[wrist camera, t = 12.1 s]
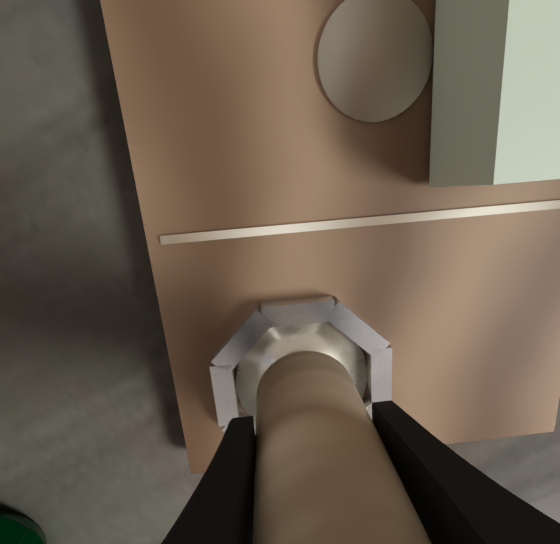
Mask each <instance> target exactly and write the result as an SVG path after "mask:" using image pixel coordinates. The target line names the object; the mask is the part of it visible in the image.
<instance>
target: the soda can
mask: <svg viewBox="0 0 560 544" xmlns="http://www.w3.org/2000/svg"><path fill="white" fill-rule="evenodd" d="M0 544H47V540H46V538H45V535H44V534H43V532H42V531H41V529H40V528H39V527H38V526H37V525H36V524H35V523H34V522H32V521H31V520H29V519H28V518H26V517H24V516H22V515H20V514H17V513H14V512H10V511H5V510H0Z"/></svg>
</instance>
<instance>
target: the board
mask: <svg viewBox="0 0 560 544" xmlns="http://www.w3.org/2000/svg"><path fill="white" fill-rule="evenodd" d="M100 2H101V8H102V13H103V18H104V23H105V28H106V33H107V39H108V44H109V49H110V54H111V59H112V65H113V70H114V75H115V80H116V85H117V91H118V96H119V101H120V106H121V111H122V116H123V122H124V127H125V132H126V137H127V142H128V148H129V153H130V158H131V163H132V168H133V173H134V179H135V184H136V189H137V194H138V199H139V205H140V210H141V215H142V220H143V225H144V231H145V236H146V241H147V246H148V251H149V256H150V262H151V267H152V272H153V277H154V282H155V288H156V293H157V298H158V303H159V308H160V314H161V319H162V324H163V329H164V334H165V339H166V345H167V350H168V355H169V360H170V365H171V371H172V376H173V381H174V386H175V391H176V396H177V402H178V407H179V412H180V417H181V422H182V428H183V433H184V438H185V443H186V448H187V454H188V459H189V464H190V469H191V474H195V473H204V472H206V470H207V468H208V466H209V464H210V462H211V460H212V458H213V457H214V455H215V453H216V450H217V448H218V446H219V444H220V442H221V440H222V438H223V436H224V433H225V432H223V431H222V426H221V427H219V424H218V418H217V412H216V405H215V399H214V393H213V386H212V380H211V374H210V363H211V360H212V357H213V354H214V353H215V351H216V350H217V349H218V348H219V347H220V346H221V345H222V343H223V342H224V341H225V340H226V339H227V338H228V336H229V335H230V334H231V333H232V332H233V331H234V329H235V328H236V327H237V326H238V325H239V324H240V323H241V321H242V320H243V319H244V318H245V317H246V316H247V314H248V313H249V312H250V311H251V310H252V309H253V307H254V306H255V305H256V304H257V305H258V306H259V307H261V302H264V301H274V300H284V299H294V298H304V297H314V296H324V295H331V296H332V298H333V299H334V298H335V296H336V297H337V298H338V299H339V300H341V301H342V302H343V303H344V304H345V305H347V306H348V307H349V308H350V309H352V310H353V311H354V312H355V313H356V314H358V315H359V316H360V317H361V318H362V319H364V320H365V321H366V322H367V323H369V324H370V325H371V326H372V327H373V328H375V329H376V330H377V331H378V332H379V333H381V334H382V335H383V336H384V337H385V338H386V339H387V340H388V342H389V343H390V344H389V345H390V346H391V347H392V401H393V402H394V403H395V404H397V405H398V406H399V407H400V408H401V409H403V410H404V411H405V412H406V413H407V414H408V415H410V416H411V417H412V418H413V419H414V420H416V421H417V422H418V423H419V424H420V425H422V426H423V427H424V428H425V429H426V430H428V431H429V432H430V433H431V434H432V435H434V436H435V437H436V438H437V439H439V440H440V441H441V442H442V443H444V444H450V443H459V442H468V441H476V440H485V439H493V438H502V437H510V436H519V435H527V434H536V433H544V432H553V431H554V427H555V421H556V415H557V409H558V403H559V397H560V179H553V180H542V181H530V182H519V183H507V184H496V185H472V186H445V187H429V174H430V146H431V119H432V91H433V64H434V36H435V9H436V0H100ZM358 346H359V345H358ZM359 347H360V346H359ZM360 349H361V351H362V353H363V355H364V358H365V361H366V351H365V350H364V349H363V348H361V347H360ZM238 364H239V363H238ZM238 364H237V365H236V366H235V367H234V369H235V376H236V375H237V368H238ZM366 395H367V392H366V389H365V392H364V395H363V397H362V399H363V398H364V397H365V396H366ZM238 399H239V397H238ZM239 406H240V409H241V410H242V411H244V412H245V413H247V412H246V411H245V409H244V408H243V406H242V404H241V402H240V399H239ZM247 414H248V413H247Z"/></svg>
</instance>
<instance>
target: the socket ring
mask: <svg viewBox="0 0 560 544" xmlns="http://www.w3.org/2000/svg"><path fill="white" fill-rule="evenodd" d="M389 344H390V343H389V342H388V340H387V339H386V338H385V337H384V336H383V335H382V334H381V333H379V332H378V331H377V330H376V329H375V328H373V327H372V326H371V325H370V324H369V323H367V322H366V321H365V320H364V319H362V318H361V317H360V316H359V315H358V314H356V313H355V312H354V311H353V310H352V309H350V308H349V307H348V306H347V305H345V304H344V303H343V302H342V301H341V300H339V299H338V298H337V297H336V296H335V298H334V299H333V298H332V296H331V295H324V296H314V297H304V298H294V299H284V300H274V301H264V302H261V307H259V306H258V305H257V304H256V305H255V306H254V307H253V309H252V310H251V311H250V312H249V313H248V314H247V316H246V317H245V318H244V319H243V320H242V321H241V323H240V324H239V325H238V326H237V327H236V328H235V329H234V331H233V332H232V333H231V334H230V335H229V336H228V338H227V339H226V340H225V341H224V342H223V343H222V345H221V346H220V347H219V348H218V349H217V350H216V351H215V353H214V354H213V357H212V360H211V363H210V374H211V380H212V386H213V393H214V399H215V405H216V412H217V418H218V424H219V427H221V426H222V431H223V432H225V431H226V429H227V426H228V424H229V422H230V420H231V419H232V418H237V417H246V416H253V421H254V429H256V394H257V387H258V384H259V381H260V379H261V377H262V375H263V374H264V372H265V371H266V370H267V369H268V368H269V367H270V366H271V365H272V364H273V363H274V362H275V361H277V360H278V359H280V358H282V357H284V356H286V355H289V354H292V353H295V352H301V351H316V352H321V353H324V354H327V355H329V356H331V357H333V358H335V359H336V360H338V361H339V362H340V363H341V364H342V365H343V366H344V367H345V368H346V369H347V371H348V372H349V374H350V376H351V378H352V380H353V382H354V384H355V386H356V388H357V391H358V393H359V395H360V397H361V399H362V397H363V395H364V392H365V389H366V392H367V395H366V396H365V397H364V398H363V399H362V401H363V403H364V405H365V407H366V409H367V411H368V413H369V415H370V417H371V419H372V402H381V401H390V400H392V347H391V346H390V345H389ZM358 345H359V346H360V347H361V348H363V349H364V350H365V351H366V361H365V358H364V355H363V353H362V351H361V349H360V347H359V346H358ZM238 363H239V364H238ZM237 364H238V368H237V375H236V376H235V369H234V367H235V366H236V365H237ZM238 397H239V399H240V402H241V404H242V406H243V408H244V409H245V411H246V412H247V413H248V414H247V413H245V412H244V411H242V410H241V409H240V406H239V399H238Z"/></svg>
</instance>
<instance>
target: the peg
mask: <svg viewBox="0 0 560 544" xmlns="http://www.w3.org/2000/svg"><path fill="white" fill-rule="evenodd" d="M253 544H432V543H431V541H430V539H429V537H428V535H427V533H426V531H425V528H424V526H423V524H422V522H421V520H420V518H419V516H418V514H417V512H416V510H415V508H414V506H413V504H412V502H411V500H410V498H409V496H408V493H407V491H406V489H405V487H404V485H403V483H402V481H401V479H400V477H399V475H398V473H397V471H396V469H395V467H394V465H393V463H392V461H391V458H390V456H389V454H388V452H387V450H386V448H385V446H384V444H383V442H382V440H381V438H380V436H379V434H378V432H377V430H376V428H375V426H374V423H373V421H372V419H371V417H370V415H369V413H368V411H367V409H366V407H365V405H364V403H363V401H362V399H361V397H360V395H359V393H358V391H357V388H356V386H355V384H354V382H353V380H352V378H351V376H350V374H349V372H348V371H347V369H346V368H345V367H344V366H343V365H342V364H341V363H340V362H339V361H338V360H336V359H335V358H333V357H331V356H329V355H327V354H324V353H321V352H316V351H301V352H295V353H292V354H289V355H286V356H284V357H282V358H280V359H278V360H277V361H275V362H274V363H273V364H272V365H271V366H270V367H269V368H268V369H267V370H266V371H265V372H264V374H263V375H262V377H261V379H260V381H259V384H258V387H257V394H256V429H255V470H254V508H253Z"/></svg>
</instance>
